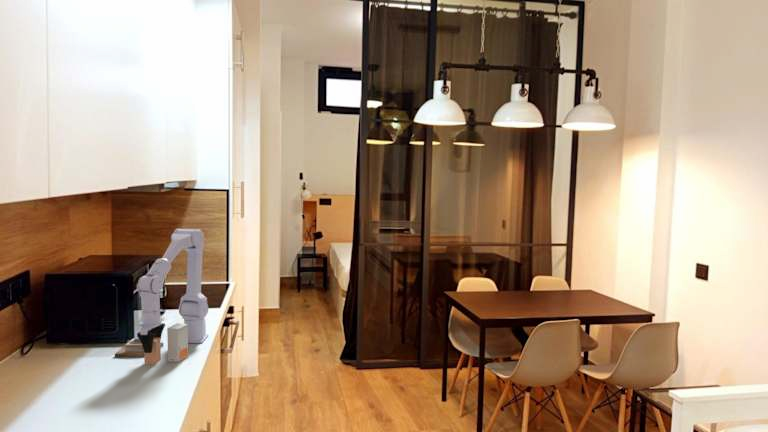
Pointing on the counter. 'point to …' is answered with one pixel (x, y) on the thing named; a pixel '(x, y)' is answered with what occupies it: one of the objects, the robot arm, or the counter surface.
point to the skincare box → (177, 342)
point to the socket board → (132, 349)
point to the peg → (153, 353)
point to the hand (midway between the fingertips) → (152, 348)
